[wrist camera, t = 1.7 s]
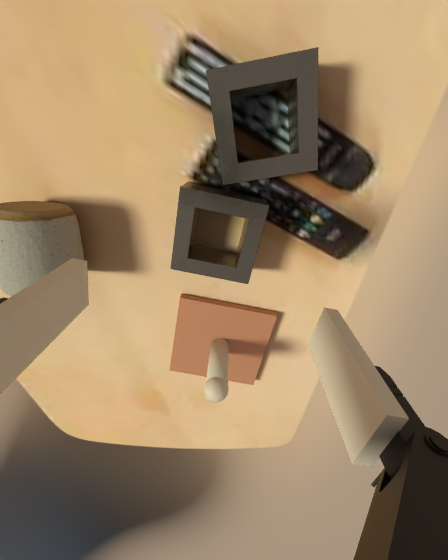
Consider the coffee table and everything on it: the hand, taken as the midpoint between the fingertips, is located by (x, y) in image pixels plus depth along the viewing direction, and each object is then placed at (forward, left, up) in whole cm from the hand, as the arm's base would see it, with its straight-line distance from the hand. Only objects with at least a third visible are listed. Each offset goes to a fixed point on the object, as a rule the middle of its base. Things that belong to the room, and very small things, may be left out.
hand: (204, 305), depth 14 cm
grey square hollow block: (-10, +2, -15) cm, 19 cm away
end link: (0, 0, -15) cm, 15 cm away
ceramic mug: (+5, -19, -16) cm, 25 cm away
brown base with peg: (+15, +3, -15) cm, 22 cm away
